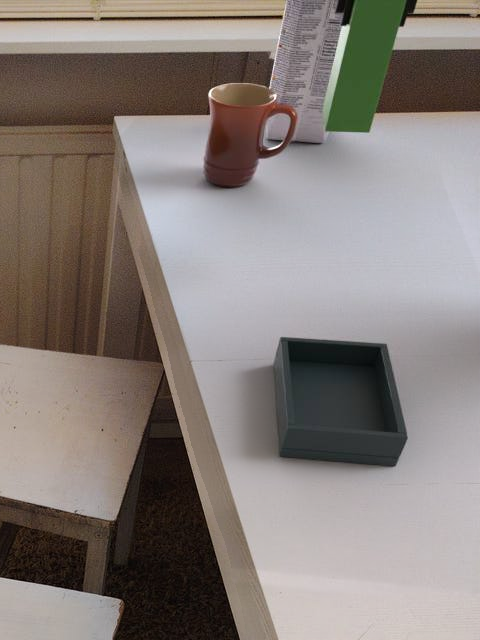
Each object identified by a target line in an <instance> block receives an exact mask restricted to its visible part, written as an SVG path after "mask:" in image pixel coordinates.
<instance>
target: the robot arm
mask: <svg viewBox="0 0 480 640" xmlns="http://www.w3.org/2000/svg"><path fill="white" fill-rule="evenodd" d="M353 3H354V0H336V4H335V10H334V12H335V13H340V14H339V22H340V26H346V25H348V24H349V20H350V16H351V12H352V8H353ZM417 3H418V0H406V4H405V7H404V11H403V14H402V18H401V21H400V25H399V28H403V27H404V26H405V24H406V20H407V18H408V15H413V14H414V13H415V10H416V6H417Z"/></svg>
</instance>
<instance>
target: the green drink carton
mask: <svg viewBox="0 0 480 640" xmlns="http://www.w3.org/2000/svg"><path fill="white" fill-rule="evenodd" d="M405 4H406V0H354V3H353V8H352V12H351V16H350V20H349V24H348V25H346V26H342V28H341V32H340V36H339V40H338V45H337V49H336V53H335V58H334V62H333V66H332V70H331V75H330V79H329V83H328V87H327V92H326V96H325V100H324V104H323V109H322V113H323V120H324V127H325V131H328V132H331V133H366V134H368V133H370V132H371V128H372V125H373V121H374V118H375V114H376V110H377V107H378V104H379V101H380V98H381V97H380V96H381V93H382V90H383V86H384V82H385V79H386V75H387V72H388V68H389V65H390V60H391V57H392V53H393V50H394V46H395V42H396V39H397V36H398V32H399V28H400V27H399V25H400V21H401V18H402V14H403V11H404V7H405Z"/></svg>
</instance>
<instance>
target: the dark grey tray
mask: <svg viewBox="0 0 480 640" xmlns="http://www.w3.org/2000/svg"><path fill="white" fill-rule="evenodd" d="M272 363H273V364H272V367H273V381H274V397H275V398H274V399H275V410H276V411H275V412H276V425H277V426H276V427H277V428H276V429H277V441H278V442H277V443H278V455H279V457H280V458H293V459H304V460H314V461H315V460H317V461H330V462H339V463H351V464H352V463H354V464H364V465H374V466H375V465H378V466H389V467H396V466H397V464H398V462H399V460H400V457H401V455H402V453H403V451H404V448H405V446H406V444H407V441H408V439H409V436H408V432H407V431H408V430H407V427H406V423H405V418H404V414H403V409H402V404H401V400H400V395H399V391H398V387H397V383H396V378H395V373H394V369H393V365H392V362H391V357H390V353H389V348H388V344H387V343H381V342H366V341H353V340H351V341H350V340H337V339H336V340H335V339H320V338H305V337H304V338H303V337H291V336H290V337H289V336H280V337H279V341H278V344H277V348H276V352H275V357H274V360H273V362H272Z"/></svg>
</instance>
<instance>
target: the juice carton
mask: <svg viewBox="0 0 480 640" xmlns="http://www.w3.org/2000/svg"><path fill="white" fill-rule="evenodd" d="M335 4H336V0H286V2H285V6H284V12H283V16H282V21H281V27H280V31H279V32H280V33H279V37H278V42H277V47H276V52H275V56H274V57H275V58H274V61H273V68H272V72H271V78H270V83H269V87H268V88H269V89H271V90H273V91H274V92H275V93H276V94H277V100H276V103H277V104H284V105H289V106H291V107H293V108H294V109H295V110H296V112H297V115H298V122H297V127H296V130H295V133H294V136H293V138H292V140H291V141H290V142H300V143H313V144H324V143H325V142H326V141H327V139H328V137H329V134H330V132H328V131H325V127H324V120H323V113H322V109H323V104H324V100H325V96H326V92H327V87H328V83H329V79H330V75H331V70H332V66H333V62H334V58H335V53H336V49H337V45H338V40H339V36H340V32H341V28H342V26H340V22H339V14H340V13H335V12H334V10H335ZM289 126H290V117H289V116H288V115H287V114H276V115H274V116H272V117H270V118H268V120H267V122H266V126H265V134H266V139H267V140H273V141H284V139H285V137H286V135H287V132H288V129H289Z"/></svg>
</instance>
